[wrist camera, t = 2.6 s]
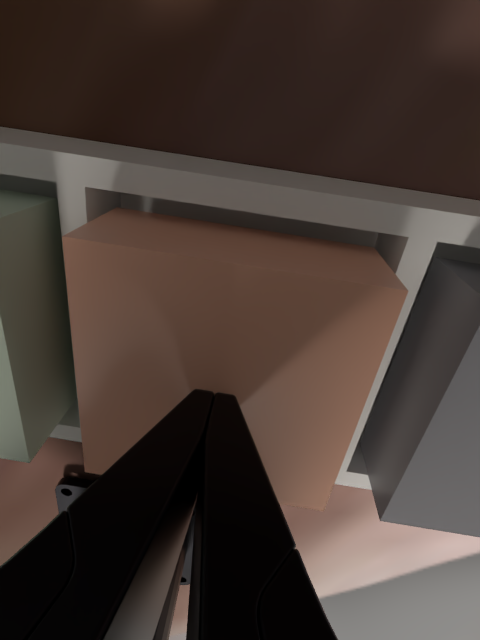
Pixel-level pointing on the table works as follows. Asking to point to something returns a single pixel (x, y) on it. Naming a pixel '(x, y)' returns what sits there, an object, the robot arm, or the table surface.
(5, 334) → the sage key
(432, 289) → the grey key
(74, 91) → the table surface
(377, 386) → the light grey divided tray
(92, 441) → the terracotta key
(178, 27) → the table surface
